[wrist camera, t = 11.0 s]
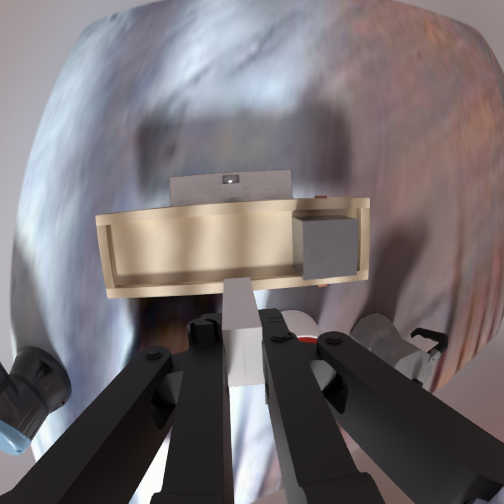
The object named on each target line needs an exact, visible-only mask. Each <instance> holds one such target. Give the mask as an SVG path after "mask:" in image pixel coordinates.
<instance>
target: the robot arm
mask: <svg viewBox="0 0 504 504" xmlns="http://www.w3.org/2000/svg"><path fill="white" fill-rule="evenodd" d="M187 332H188V338H189V349H188V350H187V351H185V352H182V353H178V354H174V355H171V353H170V350H169V349H167V348H166V347H162V346H151V347H148V348H146V349H143V350H142V351H140V352H139V353H138V354H137V355H136V356H135V357H134V358H133V359H132V360H131V361H130V362H129V364H128V365H127V366H126V367H125V368H124V369H123V370H122V371H121V372H120V373H119V374H118V375H117V376H116V377H115V378H114V379H113V380H112V382H111V383H110V384H109V385H108V386H107V387H106V388H105V389H104V390H103V391H102V392H101V393H100V394H99V395H98V396H97V398H96V399H95V400H94V401H93V402H92V403H91V404H90V405H89V406H88V407H87V408H86V409H85V410H84V411H83V413H82V414H81V415H80V416H79V417H78V418H77V419H76V420H75V421H74V422H73V423H72V424H71V425H70V427H69V428H68V429H67V430H66V431H65V432H64V433H63V434H62V435H61V436H60V437H59V438H58V440H57V441H56V442H55V443H54V444H53V445H52V446H51V447H50V448H49V449H48V450H47V452H46V453H45V454H44V455H43V456H42V457H41V458H40V459H39V460H38V461H37V463H36V464H35V465H34V466H33V467H32V468H31V469H30V470H29V471H28V473H27V474H26V475H25V476H24V477H23V478H22V479H21V480H20V481H19V483H18V484H17V485H16V486H15V487H14V488H13V489H12V490H11V491H9V492H7V493H5V494H3V495H1V496H0V504H128V503H129V502H130V500H131V498H132V496H133V495H134V493H135V491H136V489H137V488H138V486H139V484H140V482H141V480H142V479H143V477H144V475H145V473H146V472H147V470H148V468H149V466H150V465H151V463H152V461H153V459H154V457H155V456H156V454H157V452H158V450H159V448H160V447H161V445H162V443H163V441H164V440H165V438H166V436H167V434H168V432H169V431H170V429H171V427H172V425H173V427H172V432H171V438H170V443H169V449H168V455H167V460H166V466H165V472H164V478H163V485H162V489H161V491H160V492H157V493H154V494H153V496H152V498H151V501H150V504H234V488H233V469H232V449H231V424H230V395H229V387H232V386H246V385H257V384H265V397H266V404H268V408H269V413H270V418H271V423H272V428H273V434H274V439H275V444H276V449H277V454H278V459H279V464H280V469H281V474H282V479H283V484H284V489H285V493H286V498H287V503H288V504H385V502H384V500H383V498H382V496H381V494H380V492H379V490H378V487H377V485H376V483H375V481H374V480H373V478H372V477H371V475H370V474H368V473H367V472H363V473H361V472H359V471H358V469H357V468H356V465H355V463H354V461H353V459H352V457H351V454H350V452H349V450H348V448H347V445H346V443H345V441H344V439H343V437H342V434H341V432H340V430H339V428H338V426H337V423H336V421H337V422H338V423H339V424H340V425H341V426H342V427H343V429H344V430H345V431H346V432H347V433H348V434H349V435H350V436H351V437H352V438H353V440H354V441H355V442H356V443H357V444H358V445H359V446H360V447H361V448H362V449H363V450H364V451H365V452H366V453H367V455H368V456H369V457H370V458H371V459H372V460H373V461H374V462H375V463H376V464H377V465H378V466H379V467H380V468H381V469H382V471H383V472H384V473H385V474H386V475H387V476H388V477H389V478H390V479H391V480H392V481H393V482H394V483H395V484H396V485H397V486H398V487H399V488H400V489H401V490H402V491H403V492H404V493H405V494H406V495H407V496H408V497H409V498H410V499H411V500H412V501H413V502H414V503H415V504H504V443H503V442H501V441H500V440H498V439H496V438H495V437H494V436H492V435H491V434H489V433H488V432H486V431H485V430H483V429H482V428H480V427H479V426H477V425H476V424H474V423H473V422H471V421H470V420H469V419H467V418H466V417H464V416H463V415H461V414H460V413H458V412H457V411H455V410H454V409H452V408H451V407H449V406H448V405H447V404H445V403H444V402H442V401H441V400H439V399H438V398H436V397H435V396H434V395H432V394H431V393H429V392H428V391H426V390H425V389H424V388H422V387H421V386H419V385H418V384H416V383H415V382H413V381H412V380H411V379H409V378H408V377H406V376H405V375H403V374H402V373H401V372H399V371H398V370H396V369H395V368H393V367H392V366H391V365H389V364H388V363H386V362H385V361H383V360H382V359H381V358H379V357H378V356H376V355H375V354H374V353H372V352H371V351H369V350H368V349H366V348H365V347H364V346H362V345H361V344H359V343H358V342H357V341H355V340H354V339H352V338H351V337H350V336H348V335H346V334H344V333H341V332H337V331H334V332H333V331H330V332H326V333H323V334H321V335H319V336H318V337H317V343H309V342H302V341H299V340H298V338H297V336H296V335H295V334H294V333H293V332H290V331H289V329H288V327H287V324H286V322H285V320H284V318H283V315H282V313H281V312H280V311H279V310H277V309H276V308H273V309H261V310H258V309H257V305H256V301H255V297H254V293H253V289H252V285H251V281H250V277H245V278H231V279H224V288H223V313H217V314H204V315H203V316H202V317H201V318H198V319H195V320H192V321H191V322H189V323H188V324H187ZM264 379H265V383H264ZM70 396H71V384H70V381H69V379H68V377H67V375H66V373H65V371H64V370H63V368H62V367H61V366H60V365H59V363H58V362H57V361H56V360H55V359H54V358H53V357H51V356H50V355H49V354H47V353H46V352H44V351H43V350H41V349H38V348H35V347H26V348H24V349H23V350H22V351H21V352H20V353H18V355H17V356H16V358H15V362H14V364H13V366H12V369H11V371H10V374H9V375H8V373H7V372H6V370H5V369H4V367H3V365H2V364H1V362H0V449H1V450H2V451H4V452H6V453H8V454H11V455H21V454H22V453H23V452H24V451H25V449H26V448H27V447H28V446H29V445H30V444H31V441H32V440H33V438H34V436H35V435H36V433H37V432H38V430H39V428H40V427H41V425H42V424H43V422H44V421H45V419H46V417H47V416H48V415H49V414H50V413H52V412H53V411H55V410H57V409H58V408H60V407H62V406H63V405H65V404H66V402H67V401H68V399H69V398H70ZM334 418H335V419H334ZM335 420H336V421H335Z"/></svg>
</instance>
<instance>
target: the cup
mask: <svg viewBox="0 0 504 504" xmlns="http://www.w3.org/2000/svg"><path fill="white" fill-rule="evenodd" d="M281 313H282V315H283V318H284V320H285V322H286V324H287V327H288V329H289V331H290V332H293V333H294V334H295V335H296V336H297V338H298V340H299V341H302V342H309V343H317V337H318V336H319V335H321V334H322V332H321V331H320V329H319V328H318V326H317V324H316V323H315V321H314V320H313V319H312V318H311V317H310V316H309V315H307V314H306V313H304V312H301V311H297V310H286V311H282V312H281Z"/></svg>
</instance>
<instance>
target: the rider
mask: <svg viewBox="0 0 504 504" xmlns="http://www.w3.org/2000/svg"><path fill="white" fill-rule="evenodd" d="M292 244H293V268H294V270H295V271H296V272H297V273H298V274H299V276H300V277H301V278H302V279H303V280H314V279H324V278H334V277H344V276H354V275H357V255H358V219H355V218H351V217H347V216H343V215H323V216H301V217H292Z"/></svg>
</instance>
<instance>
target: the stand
mask: <svg viewBox="0 0 504 504" xmlns="http://www.w3.org/2000/svg"><path fill="white" fill-rule="evenodd" d="M169 181H170V197H171V207H173V206H184V205H196V204H208V203H222V202H233V201H254V200H273V199H292V178H291V170H271V171H248V172H230V173H216V174H203V175H191V176H181V177H171V178H169Z"/></svg>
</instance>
